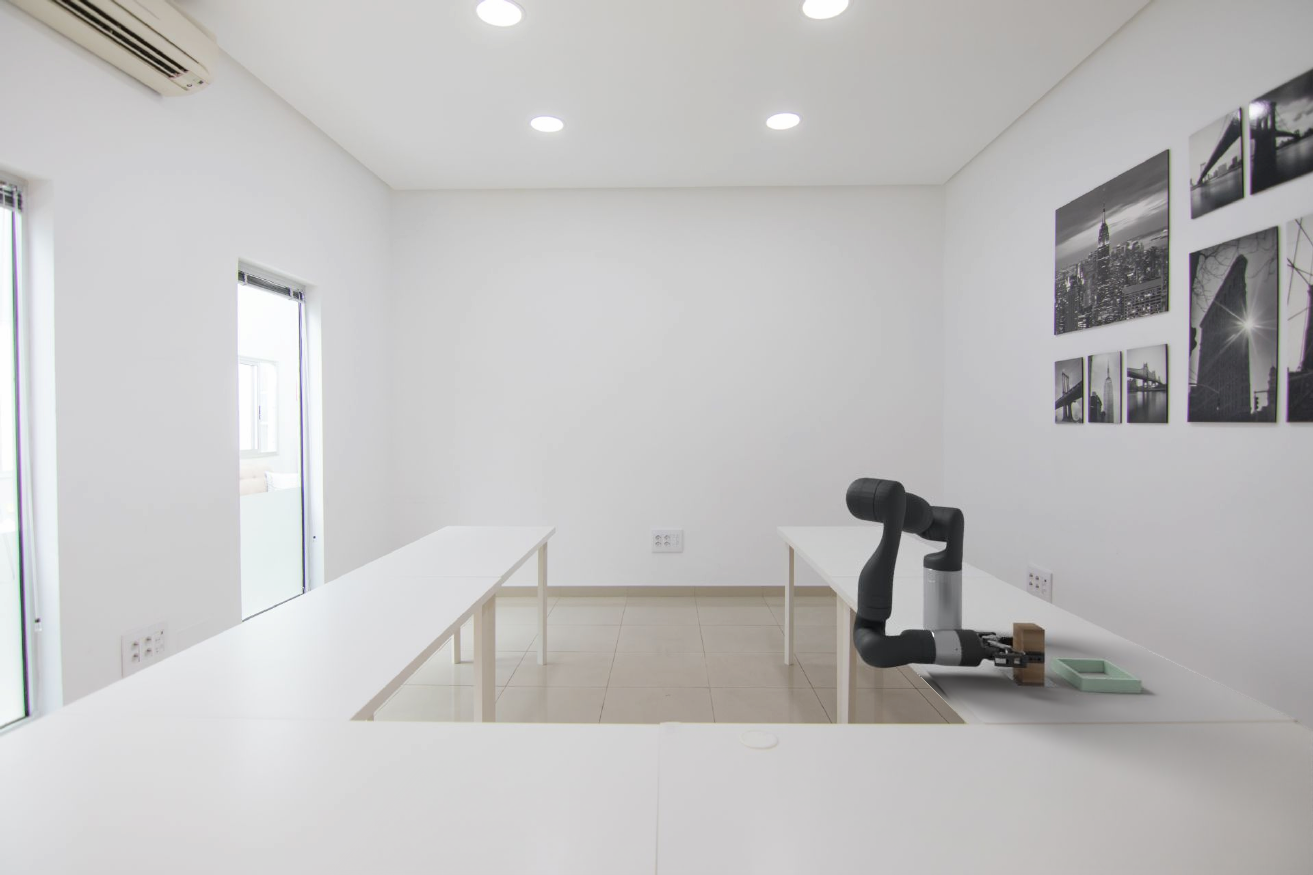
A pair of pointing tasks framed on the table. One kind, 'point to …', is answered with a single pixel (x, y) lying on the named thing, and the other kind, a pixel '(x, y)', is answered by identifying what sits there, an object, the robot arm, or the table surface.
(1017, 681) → the mount plate
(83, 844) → the table surface
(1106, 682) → the tray
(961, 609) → the robot arm
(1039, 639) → the block
